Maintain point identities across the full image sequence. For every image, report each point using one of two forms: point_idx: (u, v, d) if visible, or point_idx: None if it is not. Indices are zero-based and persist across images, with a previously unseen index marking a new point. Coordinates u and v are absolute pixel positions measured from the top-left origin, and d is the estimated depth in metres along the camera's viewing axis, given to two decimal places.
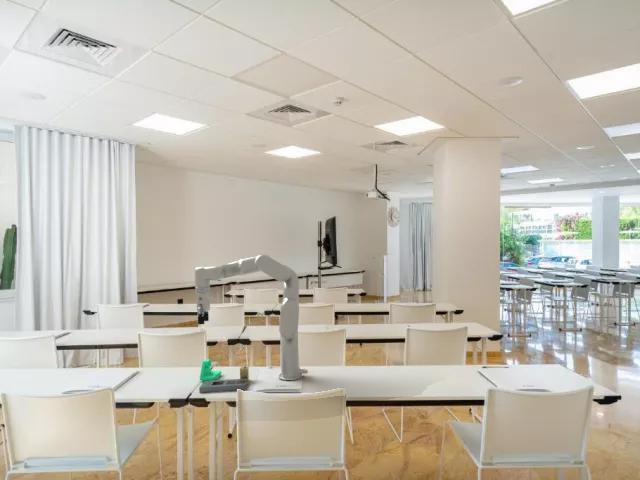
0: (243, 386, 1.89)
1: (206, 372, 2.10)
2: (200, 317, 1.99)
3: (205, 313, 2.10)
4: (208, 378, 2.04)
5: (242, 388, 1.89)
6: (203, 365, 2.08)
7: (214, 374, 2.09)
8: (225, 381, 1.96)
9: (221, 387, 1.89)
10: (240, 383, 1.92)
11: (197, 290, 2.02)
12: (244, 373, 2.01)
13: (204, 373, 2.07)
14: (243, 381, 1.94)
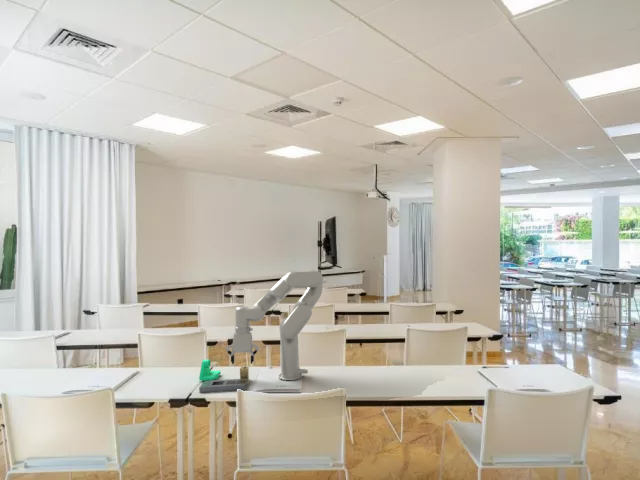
0: (243, 386, 1.89)
1: (205, 372, 2.10)
2: (253, 356, 2.04)
3: (233, 355, 2.03)
4: (207, 378, 2.04)
5: (242, 388, 1.89)
6: (202, 365, 2.08)
7: (213, 374, 2.09)
8: (225, 381, 1.96)
9: (221, 387, 1.89)
10: (240, 383, 1.92)
11: (248, 330, 2.03)
12: (244, 373, 2.01)
13: (203, 373, 2.07)
14: (243, 381, 1.94)
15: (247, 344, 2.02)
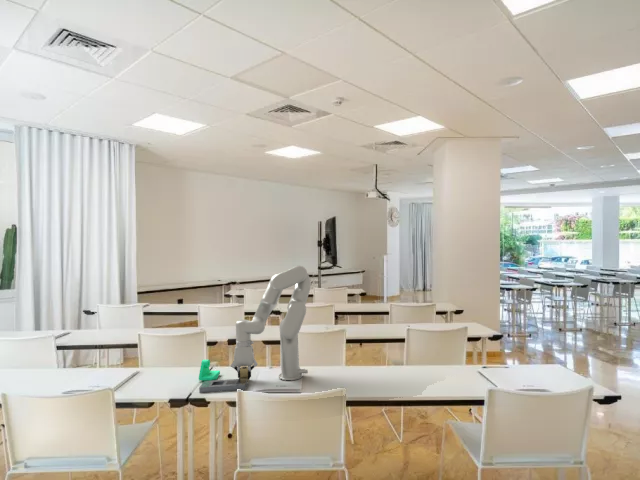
0: (243, 386, 1.89)
1: (205, 372, 2.10)
2: (250, 371, 2.04)
3: None
4: (207, 378, 2.04)
5: (242, 388, 1.89)
6: (202, 365, 2.08)
7: (213, 374, 2.09)
8: (225, 381, 1.96)
9: (221, 387, 1.89)
10: (240, 383, 1.92)
11: (249, 343, 2.02)
12: (244, 373, 2.01)
13: (203, 373, 2.07)
14: (243, 381, 1.94)
15: (248, 357, 2.02)
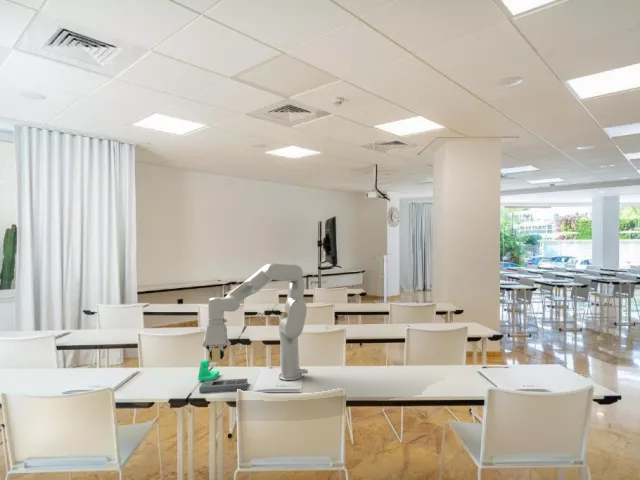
0: (243, 386, 1.89)
1: (204, 372, 2.10)
2: (223, 351, 1.94)
3: None
4: (206, 378, 2.04)
5: (242, 388, 1.89)
6: (201, 365, 2.08)
7: (212, 374, 2.09)
8: (225, 381, 1.96)
9: (221, 387, 1.89)
10: (240, 383, 1.92)
11: (222, 322, 1.93)
12: (217, 352, 1.92)
13: (202, 373, 2.07)
14: (243, 381, 1.94)
15: (221, 336, 1.92)
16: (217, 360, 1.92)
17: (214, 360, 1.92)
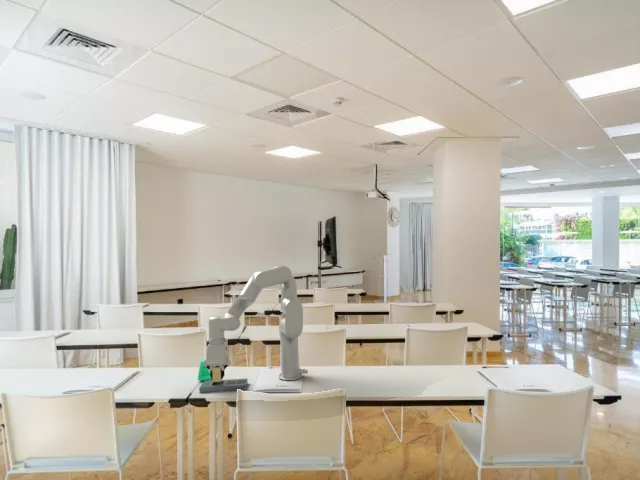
0: (243, 386, 1.89)
1: (204, 372, 2.10)
2: None
3: None
4: (206, 378, 2.04)
5: (242, 388, 1.89)
6: (201, 365, 2.08)
7: None
8: (225, 381, 1.96)
9: (221, 387, 1.89)
10: (240, 383, 1.92)
11: (222, 341, 1.93)
12: (217, 372, 1.92)
13: (202, 373, 2.07)
14: (243, 381, 1.94)
15: (221, 356, 1.92)
16: (218, 380, 1.92)
17: (215, 380, 1.92)
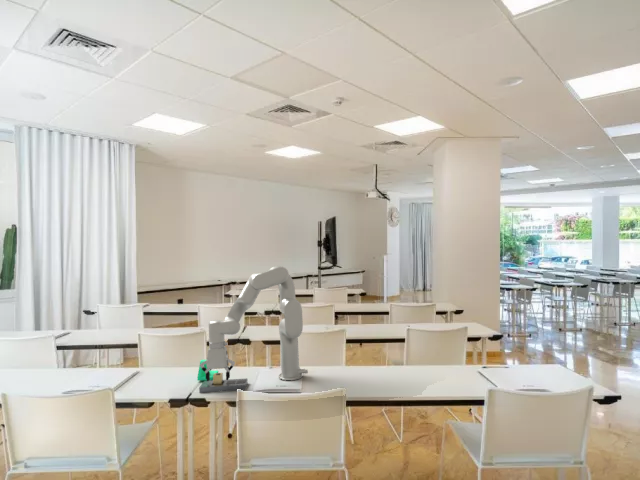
0: (243, 386, 1.89)
1: (203, 372, 2.10)
2: (229, 371, 1.94)
3: (208, 372, 1.94)
4: None
5: (242, 388, 1.89)
6: None
7: (212, 374, 2.09)
8: (225, 381, 1.96)
9: (221, 387, 1.89)
10: (240, 383, 1.92)
11: (222, 345, 1.93)
12: (218, 380, 1.92)
13: (202, 373, 2.07)
14: (243, 381, 1.94)
15: (222, 360, 1.92)
16: None
17: None
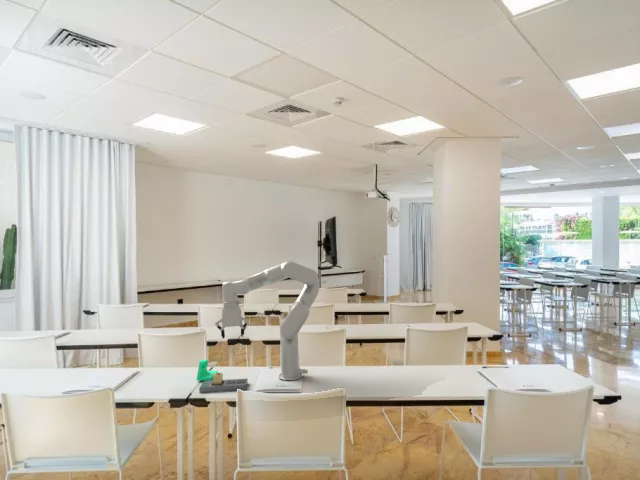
0: (243, 386, 1.89)
1: (203, 372, 2.10)
2: (243, 329, 2.05)
3: (223, 330, 2.04)
4: (205, 378, 2.04)
5: (242, 388, 1.89)
6: (200, 365, 2.08)
7: (211, 374, 2.09)
8: (225, 381, 1.96)
9: (221, 387, 1.89)
10: (240, 383, 1.92)
11: (236, 304, 2.04)
12: (218, 380, 1.92)
13: (201, 373, 2.07)
14: (243, 381, 1.94)
15: (236, 317, 2.03)
16: None
17: None
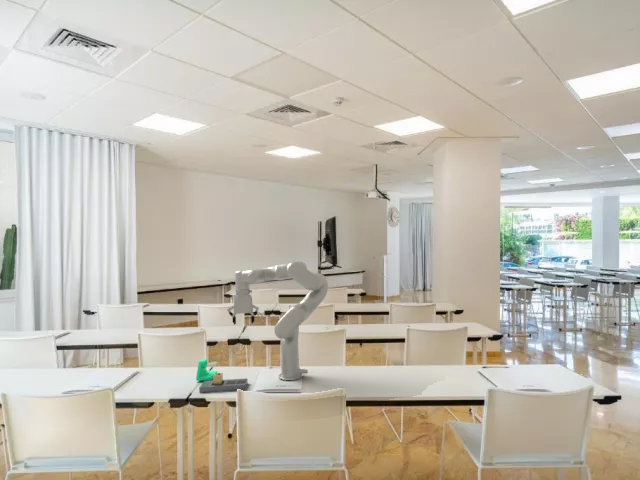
0: (243, 386, 1.89)
1: (202, 372, 2.10)
2: None
3: None
4: (205, 378, 2.04)
5: (242, 388, 1.89)
6: (199, 365, 2.08)
7: (210, 374, 2.09)
8: (225, 381, 1.96)
9: (221, 387, 1.89)
10: (240, 383, 1.92)
11: (248, 292, 2.13)
12: (218, 380, 1.92)
13: (200, 373, 2.07)
14: (243, 381, 1.94)
15: (247, 305, 2.13)
16: None
17: None
